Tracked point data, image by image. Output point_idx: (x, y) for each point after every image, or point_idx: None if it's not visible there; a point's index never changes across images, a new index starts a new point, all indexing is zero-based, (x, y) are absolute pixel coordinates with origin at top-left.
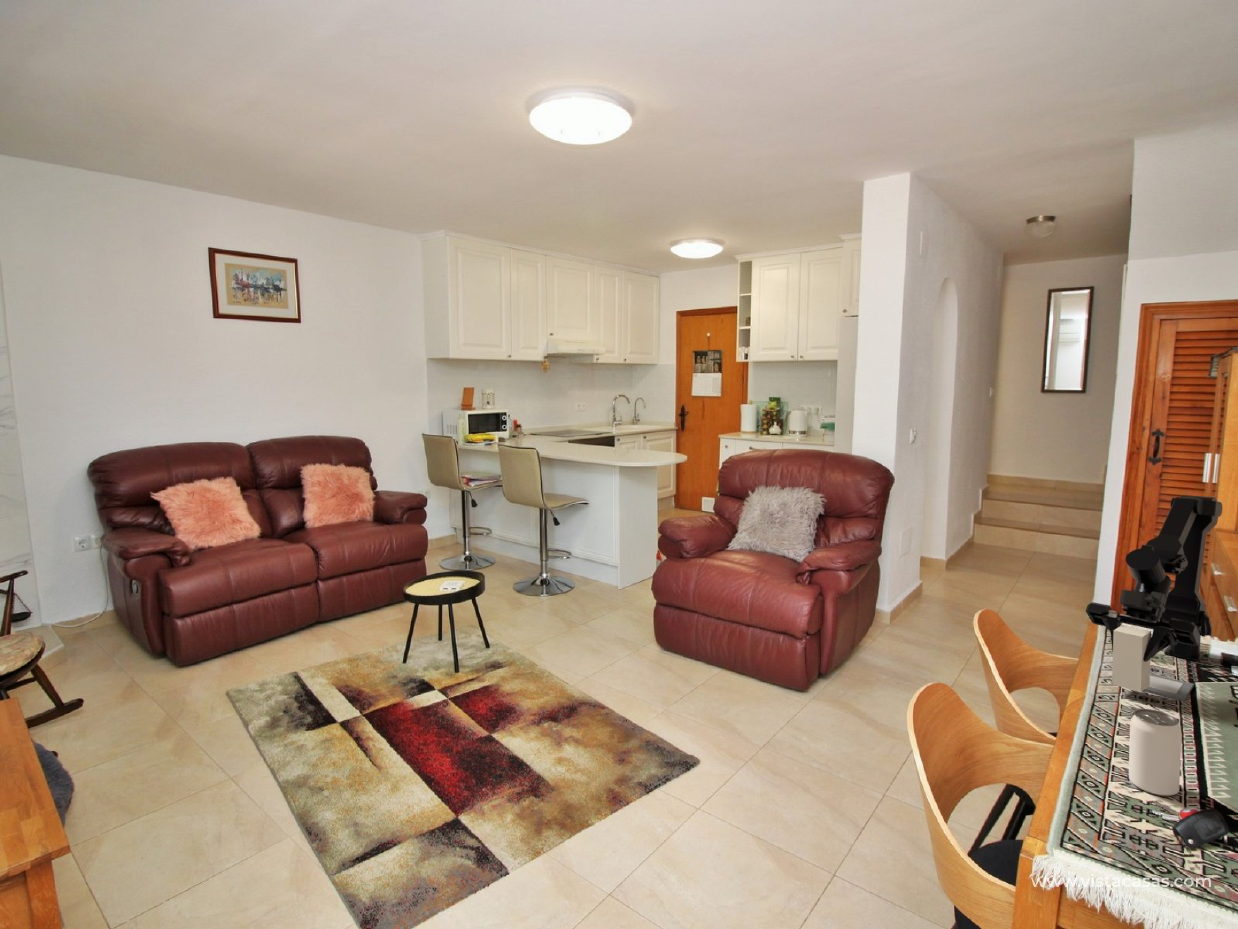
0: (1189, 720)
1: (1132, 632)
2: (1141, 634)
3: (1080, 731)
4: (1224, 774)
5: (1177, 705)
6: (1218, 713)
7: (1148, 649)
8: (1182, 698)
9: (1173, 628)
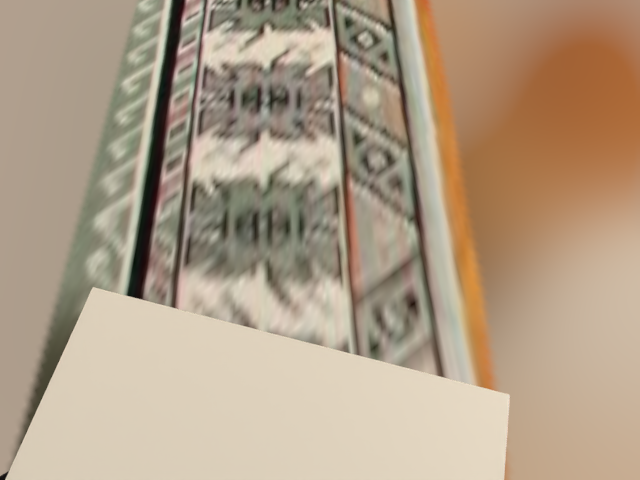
0: (154, 276)
1: (210, 460)
2: (81, 416)
3: (407, 31)
4: (136, 25)
5: None
6: None
7: None
8: None
9: None
